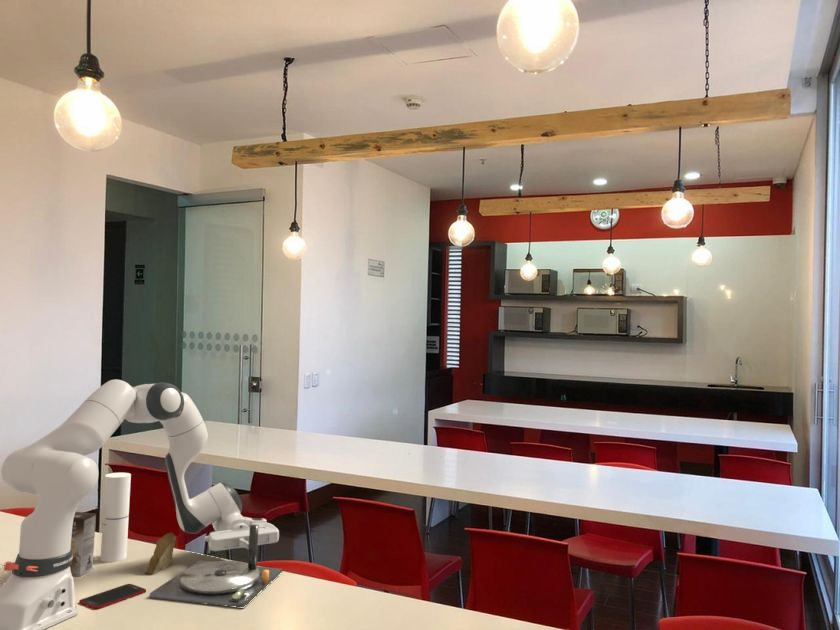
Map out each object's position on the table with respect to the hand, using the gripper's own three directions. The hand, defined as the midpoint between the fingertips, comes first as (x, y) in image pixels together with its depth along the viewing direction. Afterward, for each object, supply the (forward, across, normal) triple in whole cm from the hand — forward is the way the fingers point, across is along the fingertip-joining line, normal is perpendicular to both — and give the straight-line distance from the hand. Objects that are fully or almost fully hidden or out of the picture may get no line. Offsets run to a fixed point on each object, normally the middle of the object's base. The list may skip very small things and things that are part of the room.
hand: (251, 546), depth 187 cm
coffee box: (-26, -43, +9) cm, 51 cm away
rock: (-19, -22, +9) cm, 30 cm away
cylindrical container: (-34, -32, +10) cm, 47 cm away
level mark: (+8, +2, +8) cm, 11 cm away
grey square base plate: (+2, -9, +9) cm, 13 cm away
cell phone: (-2, -36, +9) cm, 37 cm away
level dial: (+1, -9, +7) cm, 12 cm away
